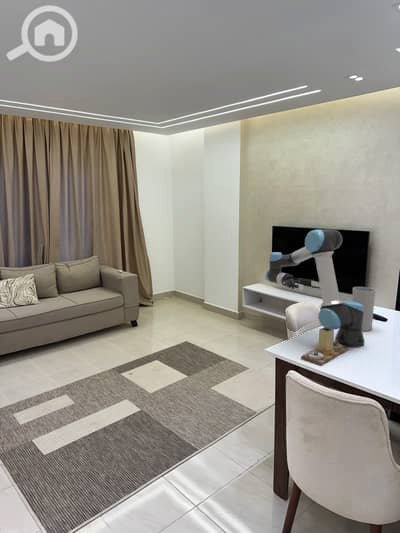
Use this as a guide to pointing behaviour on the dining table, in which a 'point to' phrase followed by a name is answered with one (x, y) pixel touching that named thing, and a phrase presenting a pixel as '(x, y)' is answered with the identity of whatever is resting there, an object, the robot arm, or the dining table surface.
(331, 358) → the board
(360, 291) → the cylinder vase
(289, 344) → the dining table surface
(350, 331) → the robot arm
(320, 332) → the yellow tan stepped cylinder
